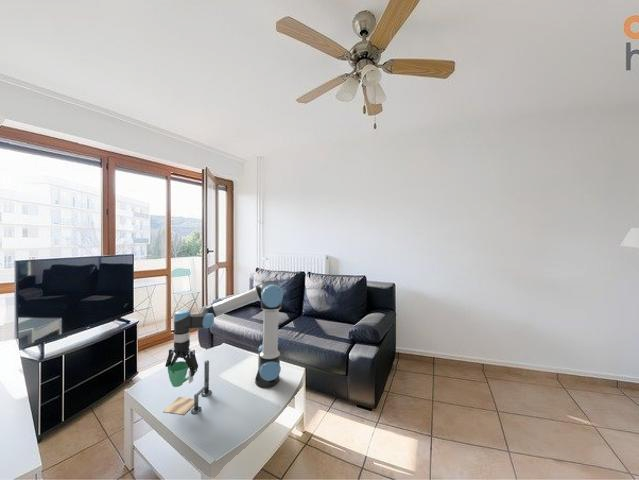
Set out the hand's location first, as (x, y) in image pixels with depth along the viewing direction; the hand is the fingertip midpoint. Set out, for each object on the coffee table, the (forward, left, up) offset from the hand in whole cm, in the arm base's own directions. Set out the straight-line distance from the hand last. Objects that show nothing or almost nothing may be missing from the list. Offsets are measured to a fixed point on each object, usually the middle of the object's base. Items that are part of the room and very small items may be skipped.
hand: (181, 380), depth 140 cm
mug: (-1, 0, -1) cm, 1 cm away
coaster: (0, 0, -14) cm, 14 cm away
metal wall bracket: (-9, -5, -14) cm, 17 cm away
